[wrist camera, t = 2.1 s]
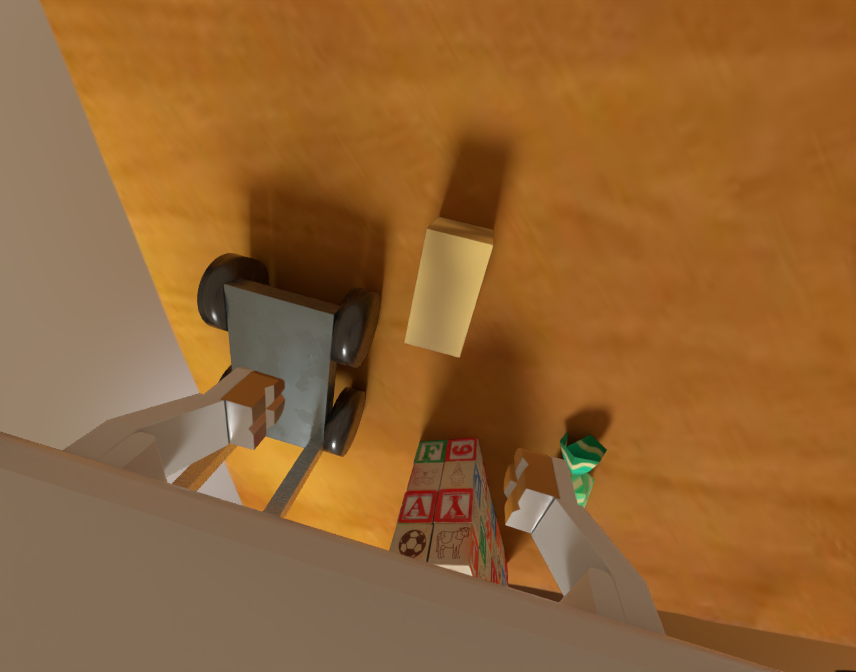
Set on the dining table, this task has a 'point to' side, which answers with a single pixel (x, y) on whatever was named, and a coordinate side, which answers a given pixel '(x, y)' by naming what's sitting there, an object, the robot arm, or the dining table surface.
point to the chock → (448, 284)
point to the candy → (582, 464)
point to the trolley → (289, 362)
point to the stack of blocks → (451, 512)
